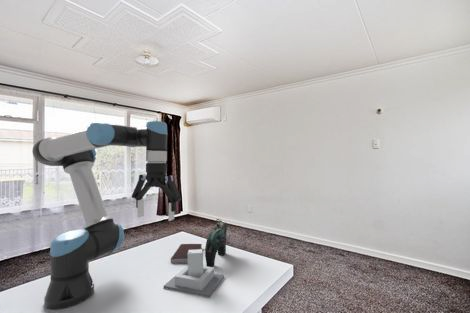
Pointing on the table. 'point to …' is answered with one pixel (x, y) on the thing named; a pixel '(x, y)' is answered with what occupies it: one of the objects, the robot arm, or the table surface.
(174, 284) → the socket dock
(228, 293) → the table surface
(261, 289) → the table surface
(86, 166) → the robot arm
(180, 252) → the book
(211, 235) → the dark green figurine
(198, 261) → the skincare box
